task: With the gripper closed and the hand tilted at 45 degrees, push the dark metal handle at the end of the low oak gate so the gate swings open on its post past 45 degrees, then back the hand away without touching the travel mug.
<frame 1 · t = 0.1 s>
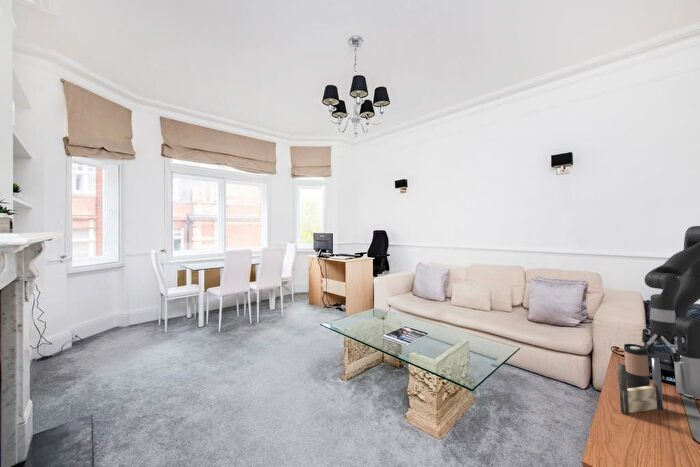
hand: (663, 357, 124), 17 cm above the table, tool pointing down, fingers open, 8 cm apart
travel mug: (638, 392, 130), on the table
gate post: (659, 408, 117), on the table
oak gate: (636, 386, 116), point 10 cm above the table, hinge at 0.0°
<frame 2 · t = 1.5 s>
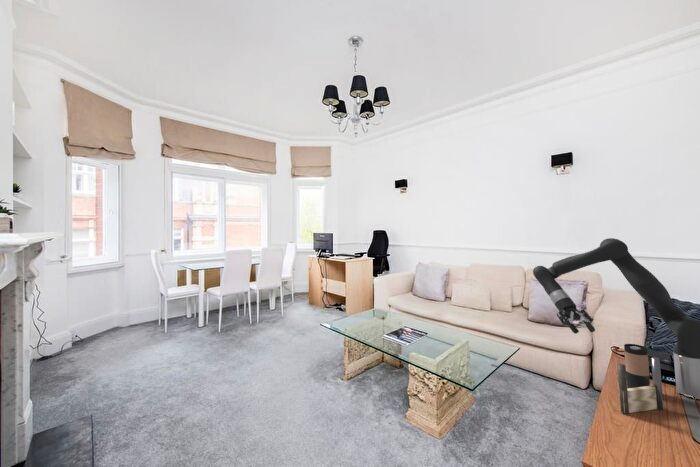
hand: (585, 332, 131), 28 cm above the table, tool tilted 45°, fingers open, 8 cm apart
nothing on the table moved.
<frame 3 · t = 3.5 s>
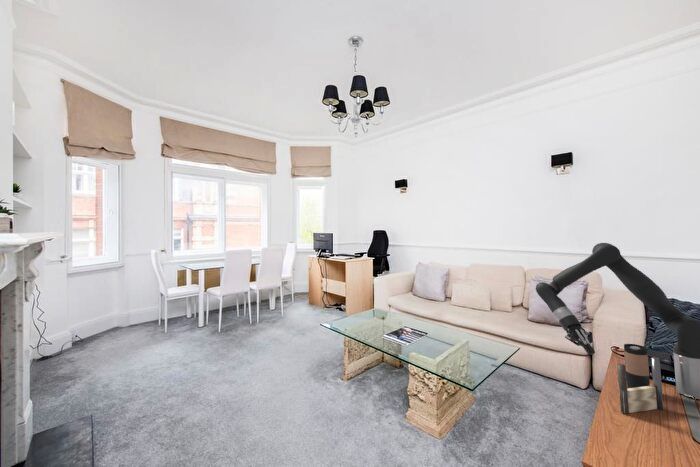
hand: (592, 353, 128), 19 cm above the table, tool tilted 45°, fingers closed
nothing on the table moved.
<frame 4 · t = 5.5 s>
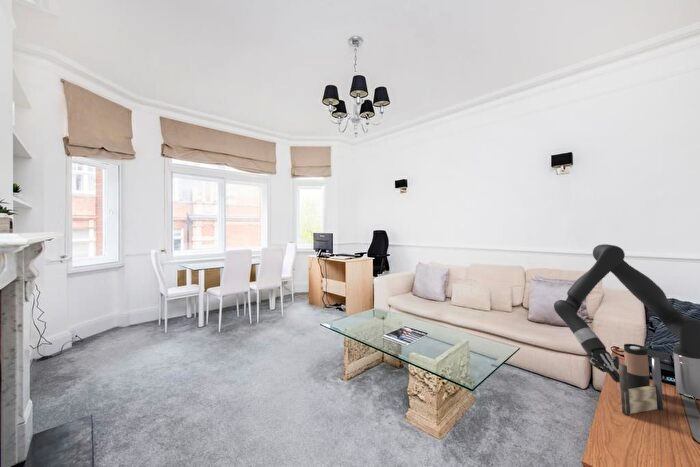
hand: (619, 381, 117), 12 cm above the table, tool tilted 45°, fingers closed
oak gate: (637, 387, 116), point 10 cm above the table, hinge at 1.9°, touching gripper
everything else where it was.
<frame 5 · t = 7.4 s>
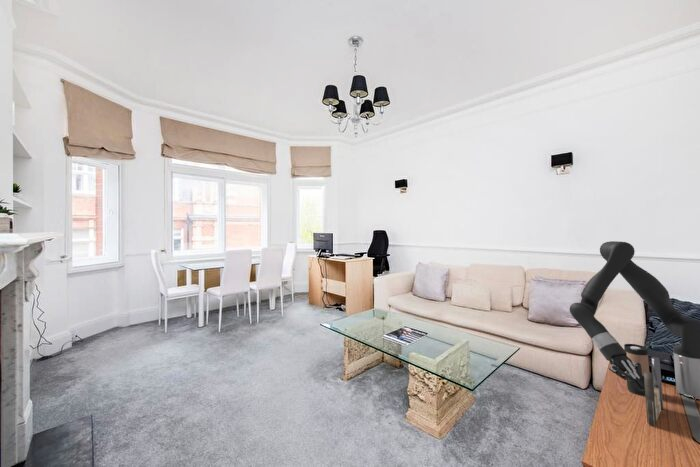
hand: (643, 390, 110), 12 cm above the table, tool tilted 45°, fingers closed
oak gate: (653, 392, 112), point 10 cm above the table, hinge at 29.2°, touching gripper
everything else where it was.
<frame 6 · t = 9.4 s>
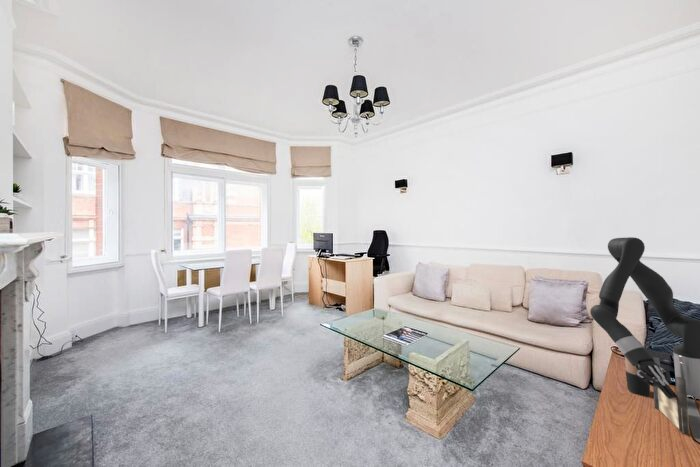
hand: (673, 397, 104), 12 cm above the table, tool tilted 45°, fingers closed
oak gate: (671, 395, 109), point 10 cm above the table, hinge at 58.1°, touching gripper
everything else where it was.
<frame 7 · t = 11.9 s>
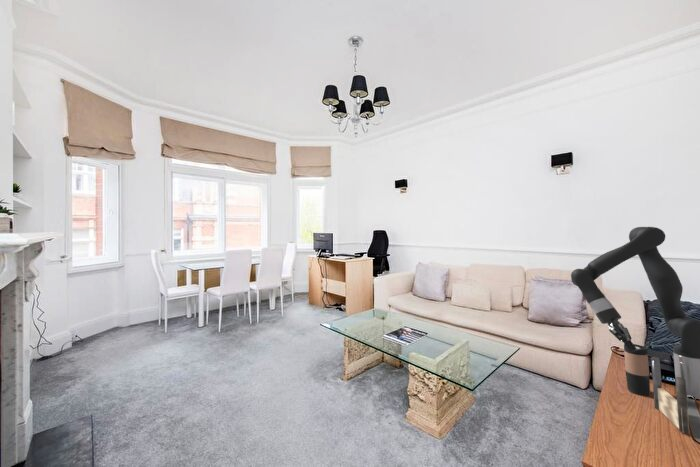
hand: (633, 350, 118), 23 cm above the table, tool tilted 35°, fingers closed
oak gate: (671, 395, 109), point 10 cm above the table, hinge at 58.1°
everything else where it was.
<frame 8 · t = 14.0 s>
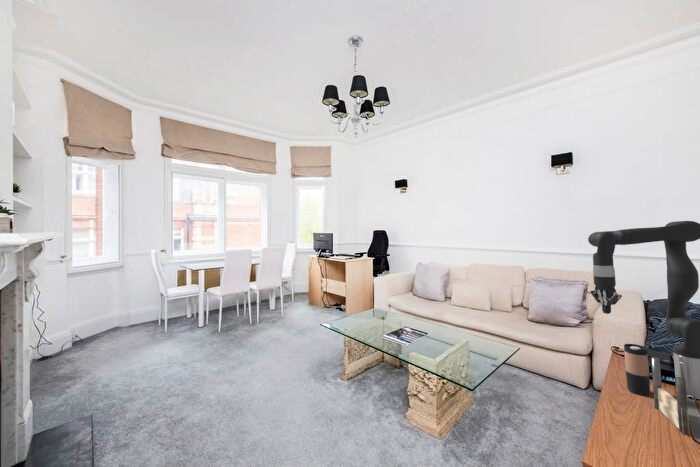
hand: (606, 313, 133), 35 cm above the table, tool pointing down, fingers closed
nothing on the table moved.
at the end: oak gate at +58° (first picture: +0°); travel mug moved 0.2 cm from its start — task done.
